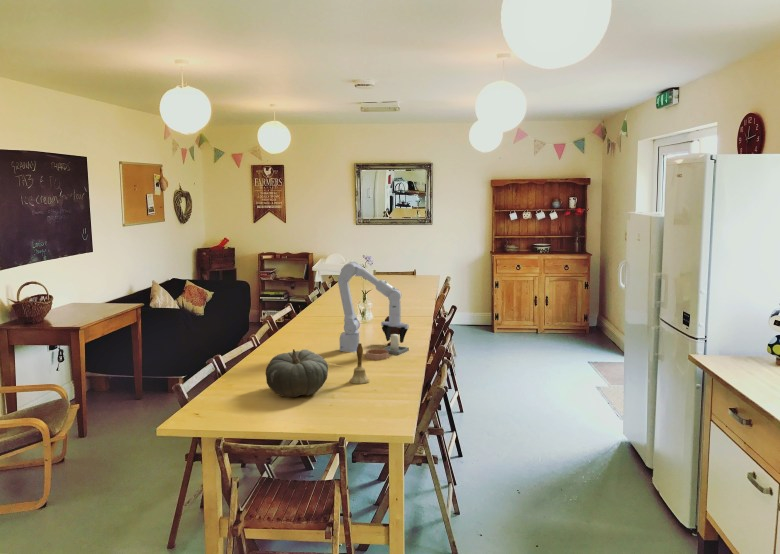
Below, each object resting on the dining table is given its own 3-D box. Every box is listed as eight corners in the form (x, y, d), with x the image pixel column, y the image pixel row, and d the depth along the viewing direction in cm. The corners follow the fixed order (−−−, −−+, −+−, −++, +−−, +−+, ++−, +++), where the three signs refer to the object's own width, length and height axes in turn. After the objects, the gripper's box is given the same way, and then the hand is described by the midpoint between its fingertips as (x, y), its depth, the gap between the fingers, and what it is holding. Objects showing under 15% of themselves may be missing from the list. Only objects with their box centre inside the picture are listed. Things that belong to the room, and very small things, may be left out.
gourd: (317, 371, 258) (314, 334, 252) (340, 398, 237) (338, 357, 231) (259, 386, 247) (255, 347, 241) (278, 415, 226) (275, 373, 220)
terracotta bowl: (362, 358, 289) (362, 352, 288) (374, 353, 298) (373, 347, 297) (381, 362, 283) (381, 355, 283) (392, 356, 292) (392, 350, 292)
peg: (389, 351, 300) (388, 335, 299) (393, 349, 303) (393, 333, 302) (396, 352, 298) (395, 336, 296) (400, 350, 301) (400, 334, 300)
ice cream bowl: (385, 347, 309) (385, 318, 307) (379, 342, 320) (379, 314, 318) (405, 346, 312) (405, 317, 310) (399, 341, 323) (399, 313, 321)
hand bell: (354, 377, 259) (354, 340, 257) (372, 379, 256) (372, 342, 254) (346, 382, 252) (345, 345, 250) (364, 385, 249) (364, 346, 247)
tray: (380, 353, 299) (380, 349, 299) (391, 349, 307) (391, 345, 307) (398, 356, 294) (398, 352, 293) (408, 351, 302) (408, 347, 302)
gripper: (377, 314, 298) (378, 341, 300) (403, 317, 291) (403, 345, 293) (385, 311, 304) (385, 338, 306) (410, 314, 297) (410, 342, 299)
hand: (394, 341), depth 300 cm, fingers open, 7 cm apart
